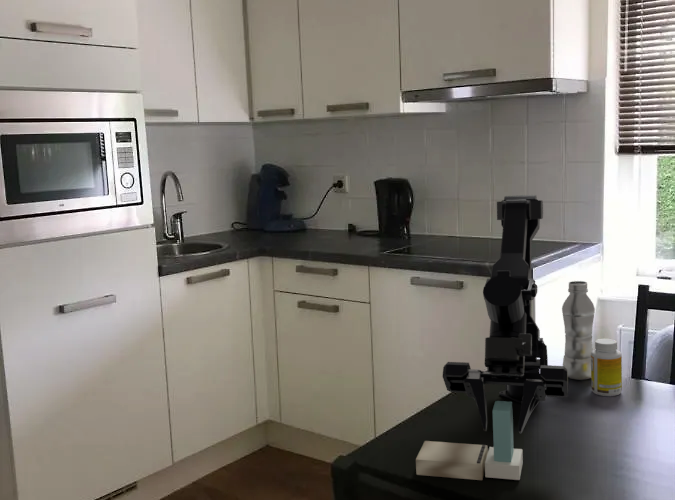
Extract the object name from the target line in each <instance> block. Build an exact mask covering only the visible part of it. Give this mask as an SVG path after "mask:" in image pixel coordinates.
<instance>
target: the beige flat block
mask: <svg viewBox="0 0 675 500" xmlns="http://www.w3.org/2000/svg"><path fill="white" fill-rule="evenodd" d="M488 451H489V448H488V444H487V445H486V444H475V443H474V444H472V443H462V442H461V443H460V442H459V443H458V442H445V441H430V440H424V441H423V444H422V446H421V448H420V450H419V452H418V454H417V456H416V458H415V469H416V471H415V472H416V473H415V474H416V475H417V476H428V477H429V476H430V477H439V478H440V477H442V478H451V479H464V480H472V481H473V480H474V481H475V480H477V481H483V478H484V476H485V461H486V458H487V454H488Z"/></svg>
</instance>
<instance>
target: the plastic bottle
mask: <svg viewBox="0 0 675 500" xmlns="http://www.w3.org/2000/svg"><path fill="white" fill-rule="evenodd" d="M567 291H568V293H569V295H568V296H567V297H566V298H565V300H564V302H563V304H562V307H561V312H562V319H563V325H564V334H565V335H564V336H565V337H564V338H565V339H564V340H565V342H564V354H563V360H562V366H564V367H565V368H566V369H567V372H568V379H571V380H578V381H579V380H580V381H583V380H589V379H591V352H592V350H594V347H593V328H594V327H593V326H594V325H593V324H594V319H595V310H596V309H595V306H594V303H593V301H592V299H591V298H590V297H589V296H588V295H587V293H588V291H589V289H588V282H587V281H583V280H572V281H569V282H568V290H567Z"/></svg>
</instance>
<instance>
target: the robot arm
mask: <svg viewBox="0 0 675 500" xmlns="http://www.w3.org/2000/svg"><path fill="white" fill-rule="evenodd" d="M543 218H544V201H543V200H542V199H540V200H539V199H537V194H531V195H530V194H528V195H527V194H526V195H525V194H524V195H523V194H522V195H505V196H504V198H503V199H501V201H496V220H497V221H501V227H502V233H501V235H502V236H501V245H500V257H499V259H497V260H496V261H495V263H493V264H492V266H491V271H490V277H488V278H487V279H486V280H485V281H486V282H485V285H484V286H483V289H482V290H483V291H482V295H483V299H484V303H485V307H486V311H487V316H488V318H489V321H490V326H489V336H488V337H485V338H484V339H485V340H484V341H485V343H484V344H485V345H484V368H486V371H483V370H480V369H473V368H471V365H470V362H464V361H463V362H460V361H447V362H446V363H445V364H444V365H443V368H442V379H443V382H444V385H445V387H446V390H447V392H450V393H462V394H463V393H465V394H466V396H467V397H468V398H472V399H474V401H475V404H476V406H477V409H478V412H479V416H480V421H481V425H482V428H483V432H487V430H488V408H487V407H488V404H487V394H486V390H485V385H496V386H497V385H499V386H500V385H501V386H505V387H504V388H505V389H504V390H501V391H499V395H500V396H502V397H504V398H506V399H509V400H512V401H513V402H516V403H519V404H520V411H519V416H518V429H517V430H518V433H519V434H522V433H523V431H524V430H525V429H524V428H525V426H526V425H527V422H528V421H529V419H530V417H531V414H532V413H533V411H534V409H535V408H536V407H537V405H539V403H540V402H545V401H546V399H547V398H563V399H564V398H567V397H569V378H568V372H567V369H566V368H565V367H564V366H563V365H549V363H548V361H549V360H548V359H549V358H548V347H547V345H546V343H545V341H544V338H543V337H541V336H540V335H541V334H540V333H541V332H540V331H541V330H540V328H539V327H538V325H537V323H536V321H535V319H534V318H533V317H532V301H533V300H534V299H535V297H537V295H538V285H537V284H536V281H535V279H534V278H532V242H533V240H534V238H535V237H536V234H537V233H538V231H539V230H540V227H541V226H540V225H541V224H540V222H541V221H540V220H543Z"/></svg>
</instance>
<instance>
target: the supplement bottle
mask: <svg viewBox="0 0 675 500" xmlns="http://www.w3.org/2000/svg"><path fill="white" fill-rule="evenodd" d="M594 342H595V343H594V348H593V350H592V352H591V378H590V379H591V382H590V383H591V384H590V386H591V391H592V392H593V393H594V394H596V395H598V396H602V397H614V396H618V395H620V394H622V391H623V387H622V385H623V376H622V375H623V374H622V373H623V372H622V371H623V370H622V369H623V368H622V367H623V366H622V365H623V364H622V363H623V362H622V358H623V357H622V352H621V351H620V350H618V341H617V340H615V339H611V338H598V339H595V341H594Z"/></svg>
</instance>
